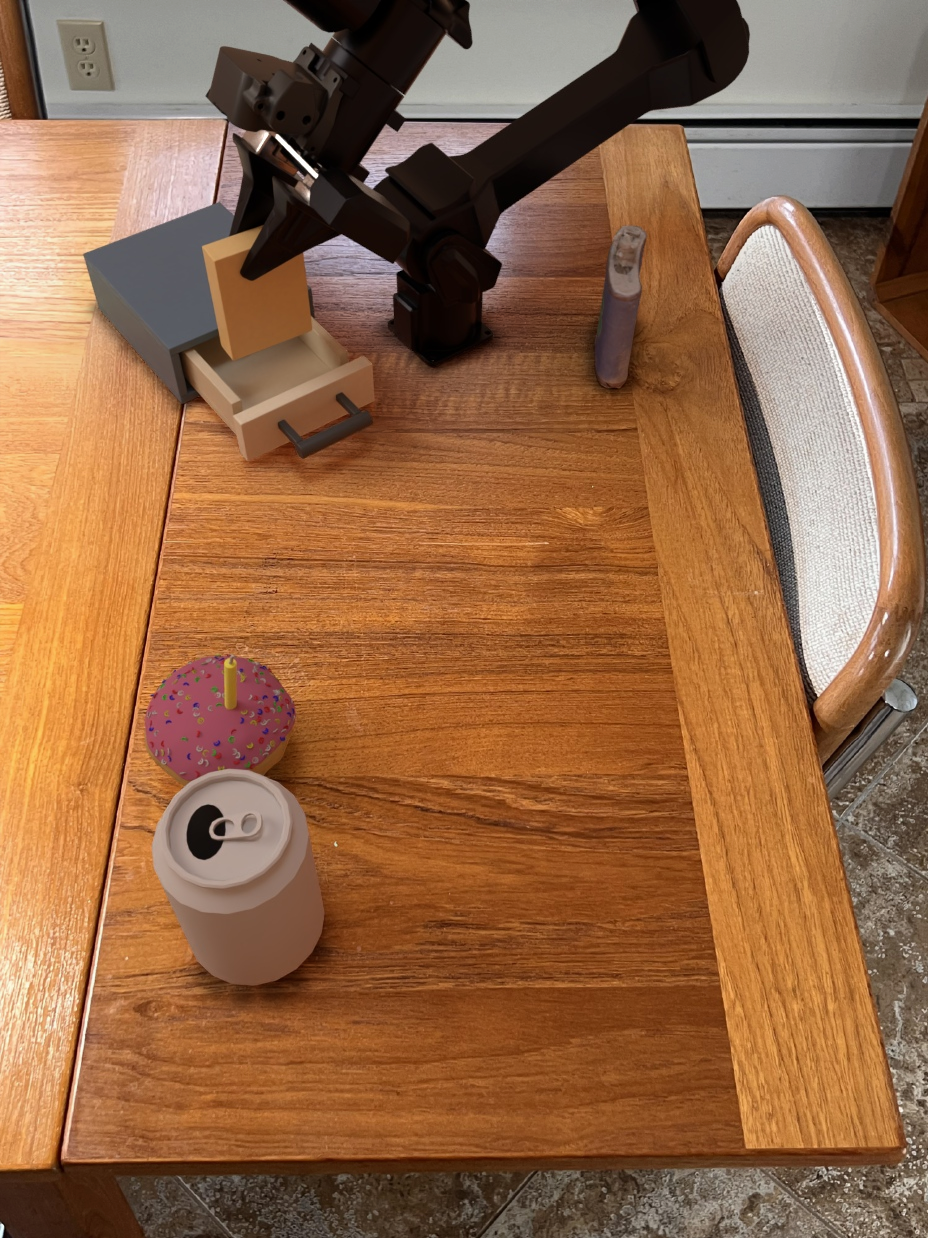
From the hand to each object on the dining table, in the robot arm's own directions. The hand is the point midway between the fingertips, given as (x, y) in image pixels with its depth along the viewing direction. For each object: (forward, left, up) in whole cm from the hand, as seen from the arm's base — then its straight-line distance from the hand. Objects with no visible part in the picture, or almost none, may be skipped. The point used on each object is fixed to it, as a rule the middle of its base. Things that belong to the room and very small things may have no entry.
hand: (237, 268), depth 79 cm
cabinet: (-1, -11, -12) cm, 17 cm away
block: (-1, 0, -7) cm, 7 cm away
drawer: (-1, +1, -12) cm, 12 cm away
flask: (-26, +11, -13) cm, 31 cm away
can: (+22, +36, -13) cm, 44 cm away
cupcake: (+18, +26, -13) cm, 34 cm away
